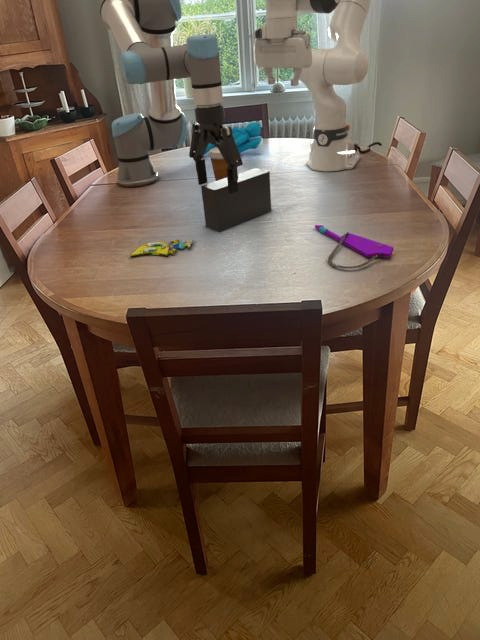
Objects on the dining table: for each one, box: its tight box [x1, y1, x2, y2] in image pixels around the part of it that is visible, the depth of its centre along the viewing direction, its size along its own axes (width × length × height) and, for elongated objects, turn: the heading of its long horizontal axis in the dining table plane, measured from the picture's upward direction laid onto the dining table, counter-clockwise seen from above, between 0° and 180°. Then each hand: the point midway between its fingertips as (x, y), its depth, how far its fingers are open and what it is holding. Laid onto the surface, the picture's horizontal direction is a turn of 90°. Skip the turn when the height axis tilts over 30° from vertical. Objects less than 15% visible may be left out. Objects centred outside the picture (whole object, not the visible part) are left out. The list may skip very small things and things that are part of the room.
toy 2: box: [204, 121, 263, 155], centre depth 205 cm, size 17×11×30 cm
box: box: [200, 167, 272, 233], centre depth 140 cm, size 20×6×12 cm, turn 131°
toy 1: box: [130, 238, 194, 258], centre depth 128 cm, size 10×1×15 cm
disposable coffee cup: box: [208, 147, 232, 181], centre depth 169 cm, size 10×10×12 cm
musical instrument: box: [314, 224, 394, 269], centre depth 119 cm, size 24×2×20 cm
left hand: (217, 188), depth 133 cm, fingers open, 13 cm apart
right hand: (282, 85), depth 141 cm, fingers open, 8 cm apart
